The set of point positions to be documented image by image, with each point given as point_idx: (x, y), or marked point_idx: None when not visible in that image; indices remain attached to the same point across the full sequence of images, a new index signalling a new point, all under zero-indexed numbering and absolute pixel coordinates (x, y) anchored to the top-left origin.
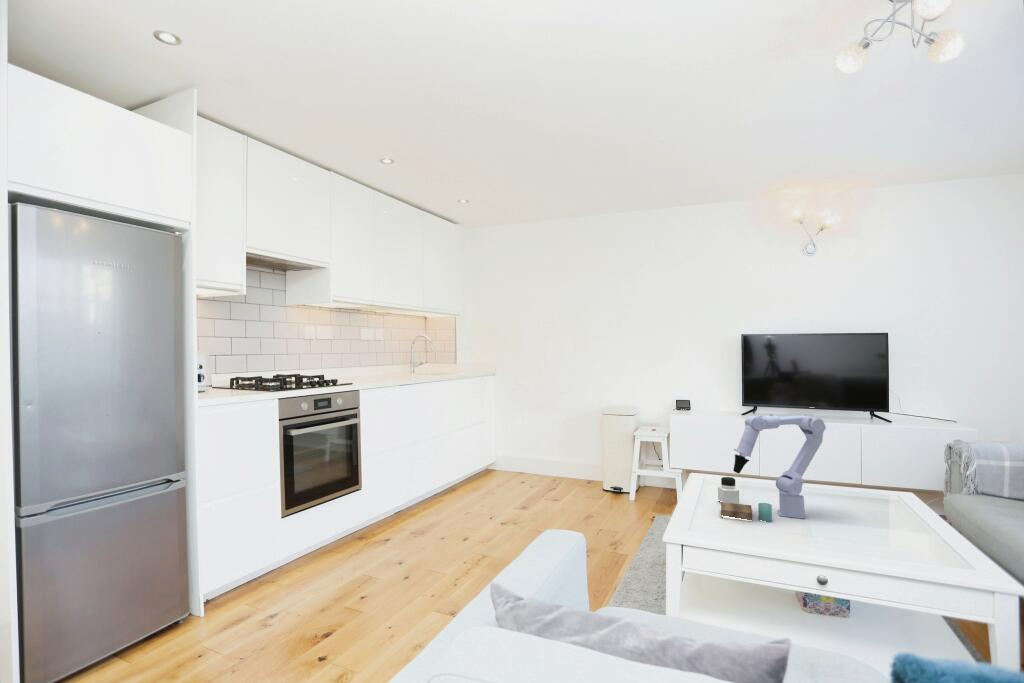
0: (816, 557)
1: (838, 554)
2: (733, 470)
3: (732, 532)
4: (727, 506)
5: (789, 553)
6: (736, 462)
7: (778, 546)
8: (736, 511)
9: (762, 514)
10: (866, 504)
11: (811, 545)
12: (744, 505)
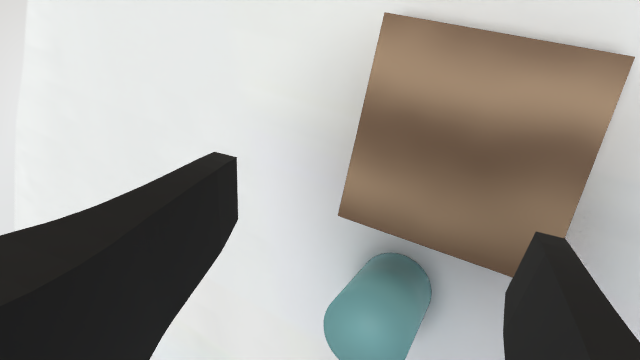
0: None
1: None
2: (544, 238)
3: (169, 37)
4: (482, 83)
5: (25, 192)
6: (61, 230)
7: (69, 183)
8: (361, 120)
9: (354, 277)
10: None
11: None
12: (530, 233)
